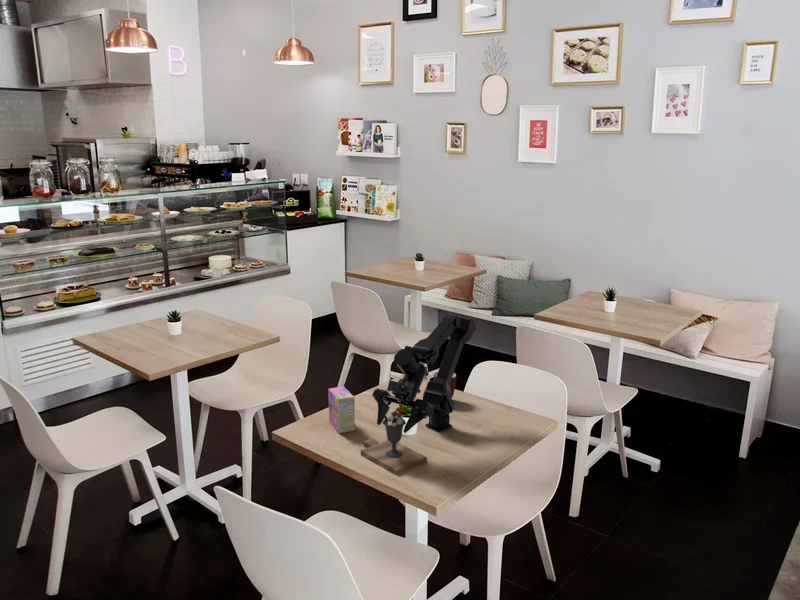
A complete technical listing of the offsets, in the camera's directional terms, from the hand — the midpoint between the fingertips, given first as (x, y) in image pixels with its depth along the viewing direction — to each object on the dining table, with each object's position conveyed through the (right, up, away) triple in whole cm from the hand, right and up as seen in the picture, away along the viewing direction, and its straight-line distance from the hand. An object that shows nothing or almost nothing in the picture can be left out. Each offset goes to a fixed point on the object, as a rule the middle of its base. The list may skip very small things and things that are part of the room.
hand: (391, 428), depth 193 cm
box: (-17, -4, +25) cm, 30 cm away
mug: (+18, 0, +46) cm, 49 cm away
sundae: (+1, -8, +3) cm, 9 cm away
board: (-1, -9, +5) cm, 10 cm away
